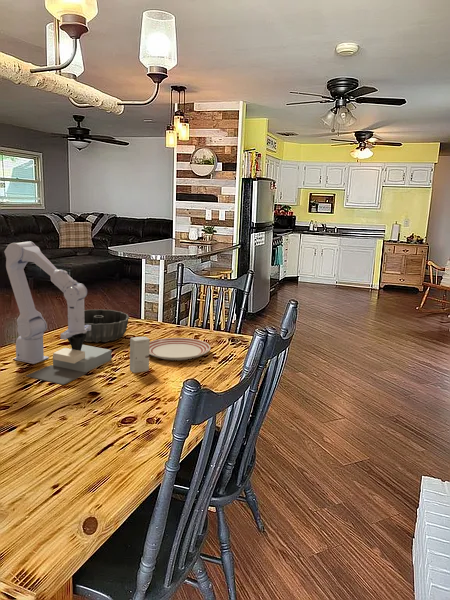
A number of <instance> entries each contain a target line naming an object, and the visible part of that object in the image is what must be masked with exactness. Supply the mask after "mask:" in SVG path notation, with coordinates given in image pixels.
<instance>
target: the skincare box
mask: <svg viewBox="0 0 450 600" xmlns="http://www.w3.org/2000/svg"><path fill="white" fill-rule="evenodd" d="M129 338H130V340H129V370H130V371H131V372H132V373H133V374H134V373H135V374H136V373H142V372H149V370H150V354H149V344H150V342H151V341H150V338H149V337H148V336H136V337H129Z"/></svg>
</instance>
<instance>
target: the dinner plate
mask: <svg viewBox="0 0 450 600" xmlns="http://www.w3.org/2000/svg"><path fill="white" fill-rule="evenodd" d="M210 351H211V345H210V344H209V343H208V342H206V341H203V340H200V339H196V338H195V339H194V338H189V337H167V338H159V339H155V340H151V341H150V344H149V356H152V357H155V358H159V359H161V360H166V361H174V360H175V361H176V360H177V361H178V362H179V361H188V359H189V360H191V359H192V358H193V359H197V358H199V357H201V356H204V355H206V354H207V353H209V352H210ZM193 359H192V360H193Z"/></svg>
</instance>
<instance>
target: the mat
mask: <svg viewBox="0 0 450 600" xmlns="http://www.w3.org/2000/svg"><path fill="white" fill-rule="evenodd" d="M87 374H88V372H81V371H76V370H72V369H67V368H62V367H58V366H53V364H51V365H47V366H46V367H43V368H41V369H37V370H35V371H33V372H31V373H29V374H26V375H25V377H27V378H30V379H35V380H40V381H43V382H44V381H45V382H47V383H52V384H53V383H54V384H57V385H62V386H65V385H66V384H68V383H71V382H73V381H74V380H77V379H78V378H82V377H83V376H85V375H87Z"/></svg>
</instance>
